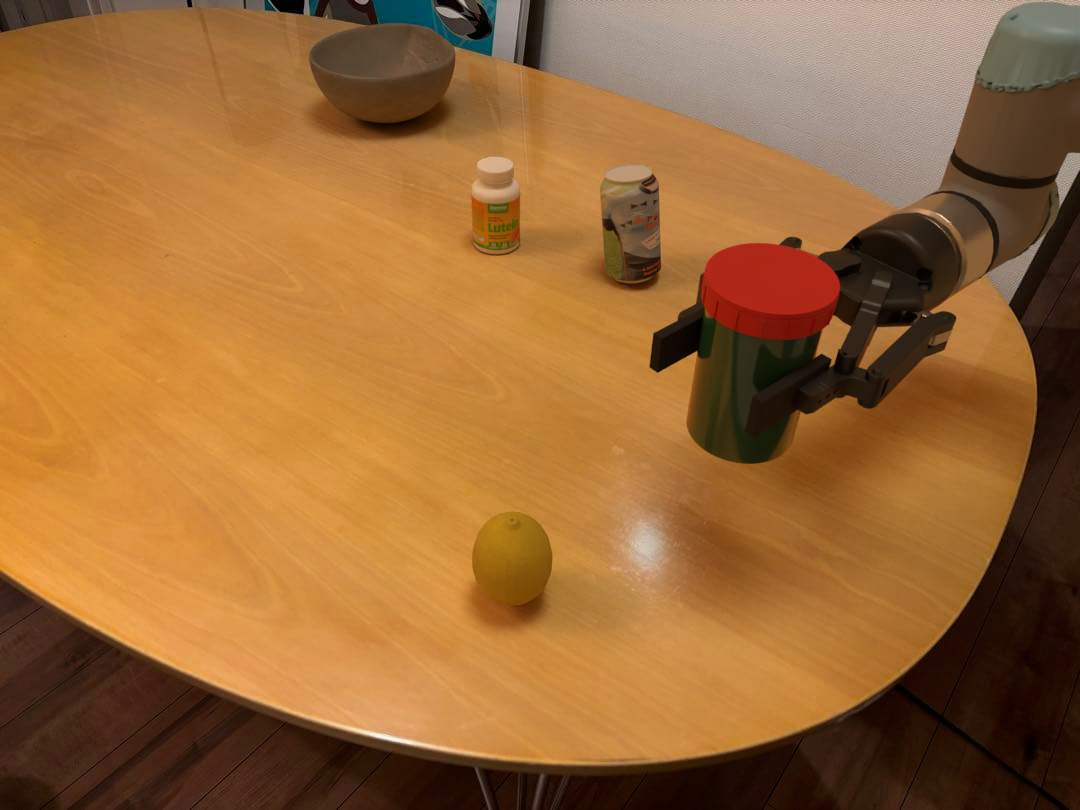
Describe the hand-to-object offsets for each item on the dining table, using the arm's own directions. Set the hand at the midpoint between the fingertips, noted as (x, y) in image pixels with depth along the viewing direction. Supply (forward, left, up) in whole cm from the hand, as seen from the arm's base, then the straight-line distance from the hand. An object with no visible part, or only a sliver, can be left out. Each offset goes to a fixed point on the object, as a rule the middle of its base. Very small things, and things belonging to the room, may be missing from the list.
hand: (702, 383), depth 54 cm
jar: (+3, -3, -6) cm, 8 cm away
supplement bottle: (+46, +18, -18) cm, 53 cm away
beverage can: (+41, +3, -18) cm, 45 cm away
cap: (+3, -3, +5) cm, 7 cm away
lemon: (-3, +11, -18) cm, 22 cm away
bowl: (+81, +38, -18) cm, 92 cm away
